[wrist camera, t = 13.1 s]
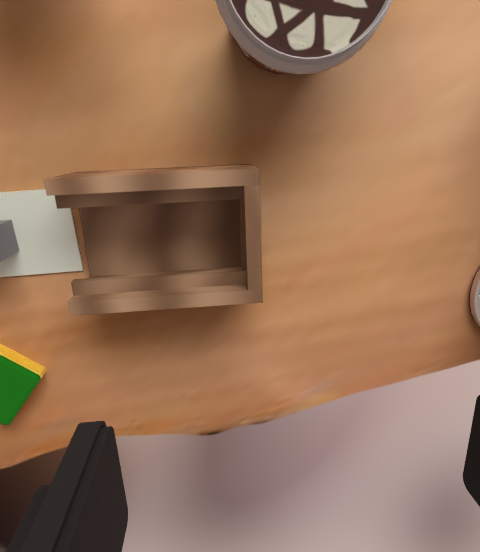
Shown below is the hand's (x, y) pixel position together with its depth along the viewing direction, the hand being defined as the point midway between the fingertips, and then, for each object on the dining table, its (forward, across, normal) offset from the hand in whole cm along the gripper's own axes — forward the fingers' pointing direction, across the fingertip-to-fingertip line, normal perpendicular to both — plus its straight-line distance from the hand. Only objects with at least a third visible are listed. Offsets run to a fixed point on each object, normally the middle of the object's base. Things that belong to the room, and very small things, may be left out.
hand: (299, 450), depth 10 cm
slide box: (+30, +6, 0) cm, 31 cm away
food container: (+31, -6, -15) cm, 35 cm away
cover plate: (+31, +22, 0) cm, 38 cm away
